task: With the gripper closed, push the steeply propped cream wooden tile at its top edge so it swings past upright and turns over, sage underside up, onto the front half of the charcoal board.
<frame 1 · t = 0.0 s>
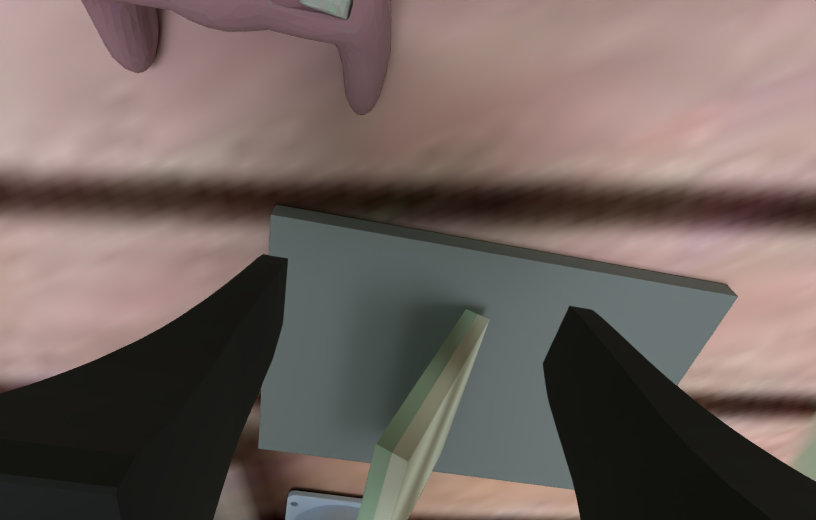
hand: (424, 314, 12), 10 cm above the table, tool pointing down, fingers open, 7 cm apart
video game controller: (262, 4, 18), on the table
board: (467, 368, 27), on the table
tile: (417, 449, 22), point 6 cm above the table, hinge at 65.0°
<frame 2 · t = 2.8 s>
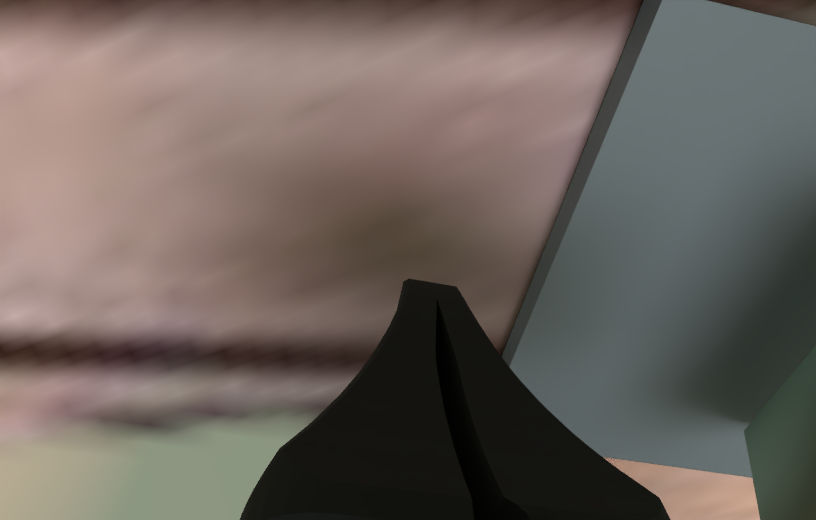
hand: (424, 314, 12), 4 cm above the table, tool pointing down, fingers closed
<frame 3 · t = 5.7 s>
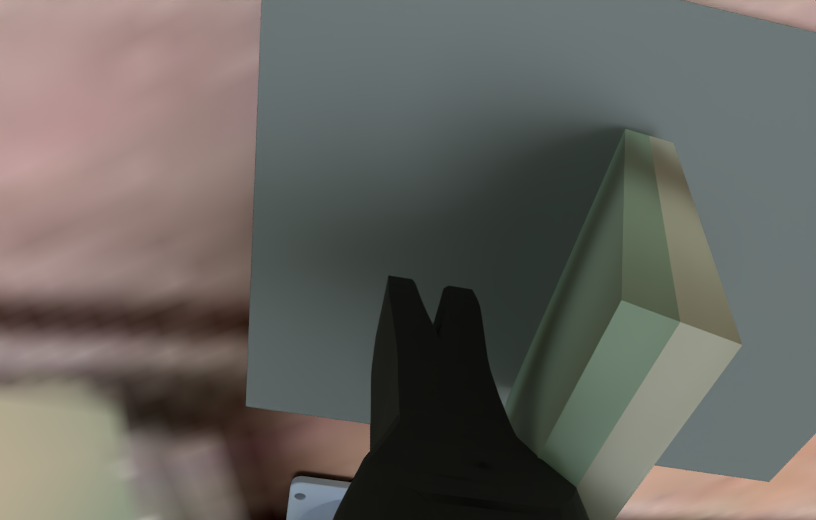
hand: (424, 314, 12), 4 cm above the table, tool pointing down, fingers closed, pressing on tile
board: (590, 269, 17), on the table
tile: (558, 385, 11), point 6 cm above the table, hinge at 68.5°, touching gripper
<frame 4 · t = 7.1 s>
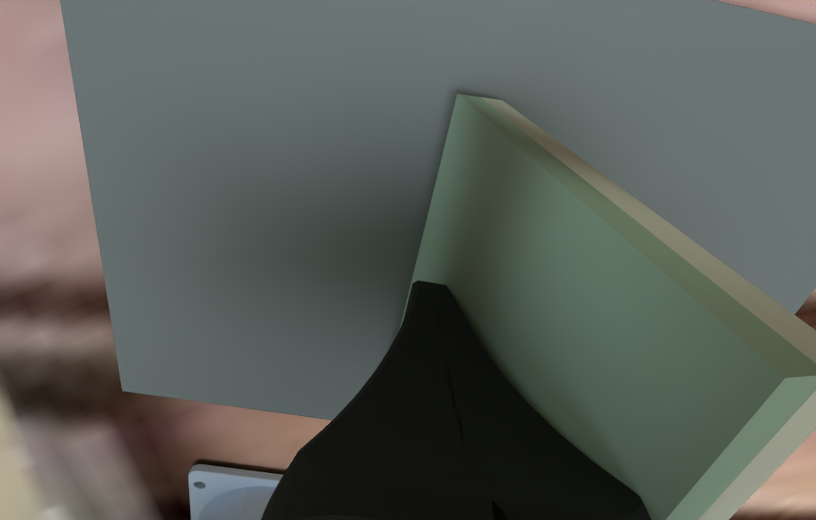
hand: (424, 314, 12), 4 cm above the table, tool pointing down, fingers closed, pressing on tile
board: (462, 245, 16), on the table
tile: (493, 384, 11), point 6 cm above the table, hinge at 105.4°, touching gripper
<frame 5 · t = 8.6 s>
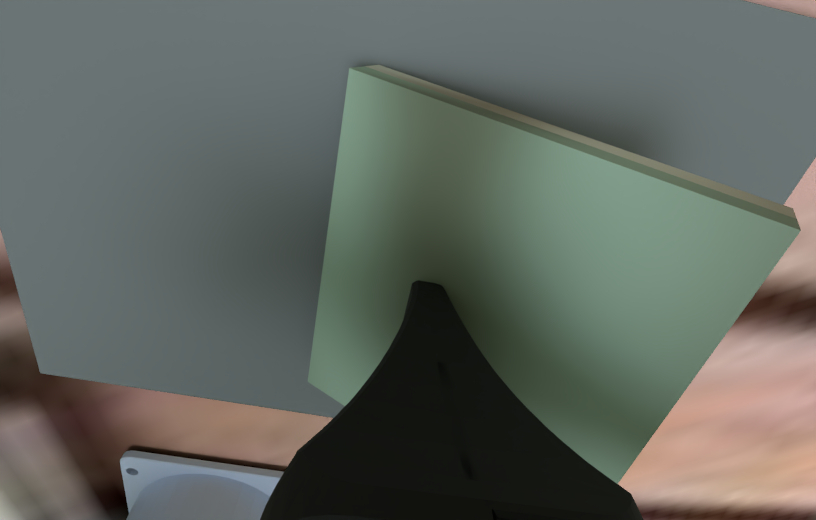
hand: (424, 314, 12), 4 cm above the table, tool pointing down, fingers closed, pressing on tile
board: (376, 226, 15), on the table
tile: (477, 320, 12), point 4 cm above the table, hinge at 150.1°, touching gripper
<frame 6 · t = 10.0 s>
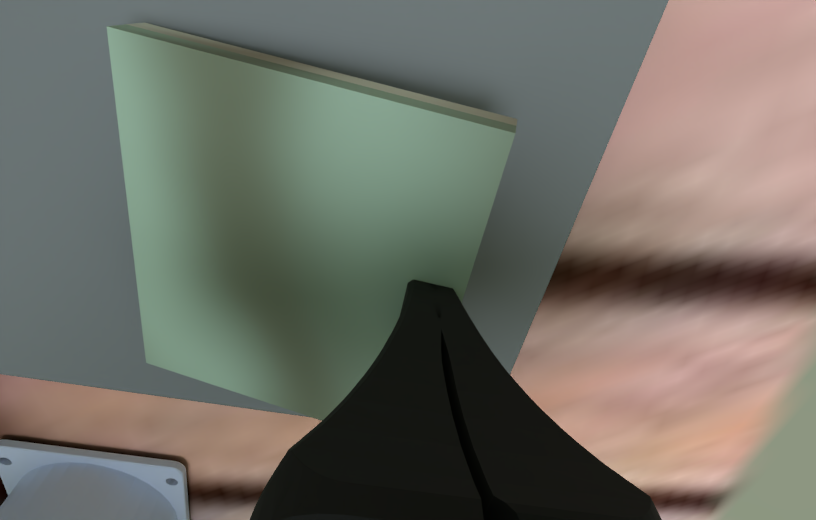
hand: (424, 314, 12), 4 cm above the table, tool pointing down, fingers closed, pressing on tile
board: (203, 200, 15), on the table
tile: (296, 264, 13), point 3 cm above the table, hinge at 167.5°, touching gripper
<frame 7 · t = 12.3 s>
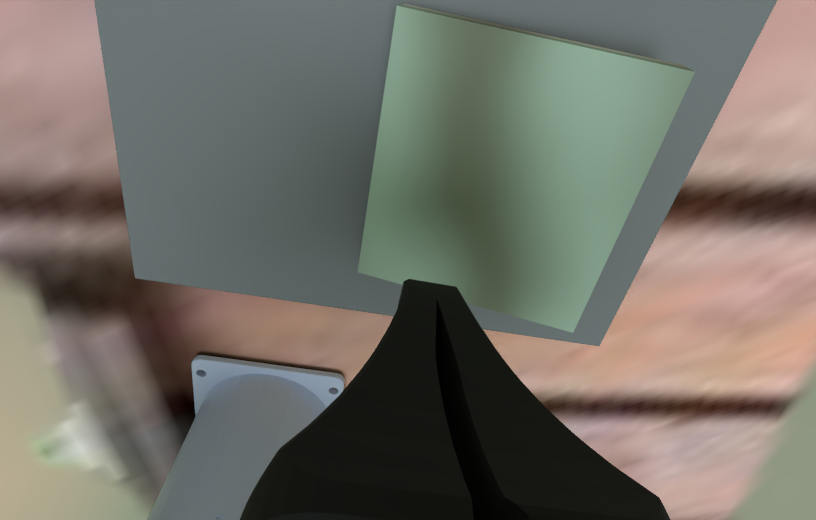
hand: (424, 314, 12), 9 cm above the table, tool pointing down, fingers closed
board: (405, 143, 20), on the table
tile: (497, 183, 18), point 3 cm above the table, hinge at 167.6°
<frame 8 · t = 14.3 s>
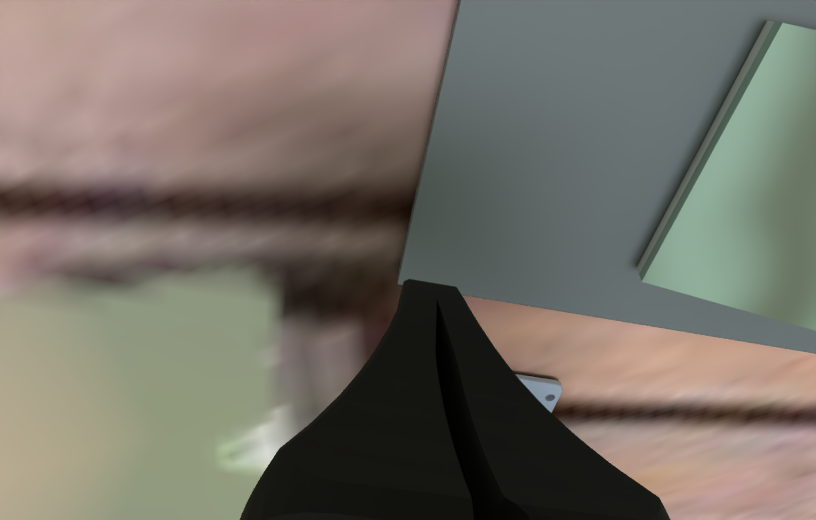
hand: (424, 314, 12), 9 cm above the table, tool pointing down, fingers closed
board: (700, 155, 20), on the table
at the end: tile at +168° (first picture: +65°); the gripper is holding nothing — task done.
